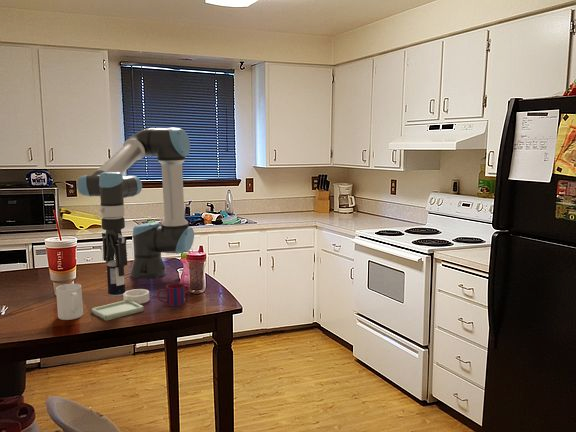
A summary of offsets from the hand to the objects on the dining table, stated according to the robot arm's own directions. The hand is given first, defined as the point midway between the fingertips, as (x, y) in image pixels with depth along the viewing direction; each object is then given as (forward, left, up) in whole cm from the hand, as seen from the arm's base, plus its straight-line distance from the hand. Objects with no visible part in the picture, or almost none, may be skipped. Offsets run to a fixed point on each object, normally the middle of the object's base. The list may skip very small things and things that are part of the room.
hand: (116, 282), depth 178 cm
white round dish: (-11, -7, -11) cm, 17 cm away
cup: (-18, +6, -11) cm, 22 cm away
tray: (0, 0, -11) cm, 11 cm away
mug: (+14, -5, -11) cm, 18 cm away
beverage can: (0, 0, -5) cm, 5 cm away
